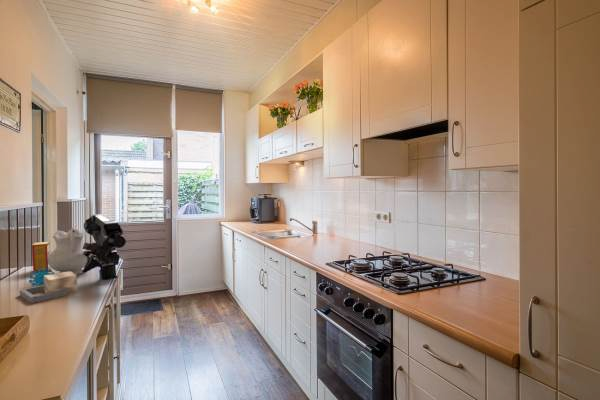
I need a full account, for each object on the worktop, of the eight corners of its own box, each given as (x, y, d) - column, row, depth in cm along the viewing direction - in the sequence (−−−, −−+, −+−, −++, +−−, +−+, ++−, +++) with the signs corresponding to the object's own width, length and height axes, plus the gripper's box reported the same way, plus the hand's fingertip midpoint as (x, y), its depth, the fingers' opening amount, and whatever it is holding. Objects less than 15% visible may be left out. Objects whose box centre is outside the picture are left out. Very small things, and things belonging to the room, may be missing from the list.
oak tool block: (70, 286, 153) (70, 271, 153) (77, 291, 146) (76, 275, 145) (44, 292, 146) (43, 275, 145) (49, 297, 138) (48, 280, 138)
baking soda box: (36, 269, 187) (35, 242, 186) (50, 267, 190) (49, 240, 190) (33, 273, 179) (31, 244, 178) (48, 271, 182) (46, 243, 181)
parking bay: (53, 288, 151) (53, 282, 151) (67, 295, 140) (67, 289, 140) (19, 295, 141) (19, 289, 141) (31, 303, 130) (31, 297, 130)
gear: (24, 285, 150) (33, 266, 157) (27, 291, 154) (36, 273, 161) (51, 286, 153) (60, 267, 160) (54, 292, 157) (62, 274, 164)
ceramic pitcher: (99, 274, 178) (101, 229, 179) (58, 280, 162) (60, 230, 162) (80, 269, 190) (82, 227, 190) (40, 275, 173) (42, 228, 174)
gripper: (86, 234, 162) (61, 260, 153) (102, 237, 151) (76, 265, 142) (104, 247, 168) (80, 273, 160) (120, 251, 157) (96, 279, 149)
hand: (83, 272), depth 153 cm, fingers closed
